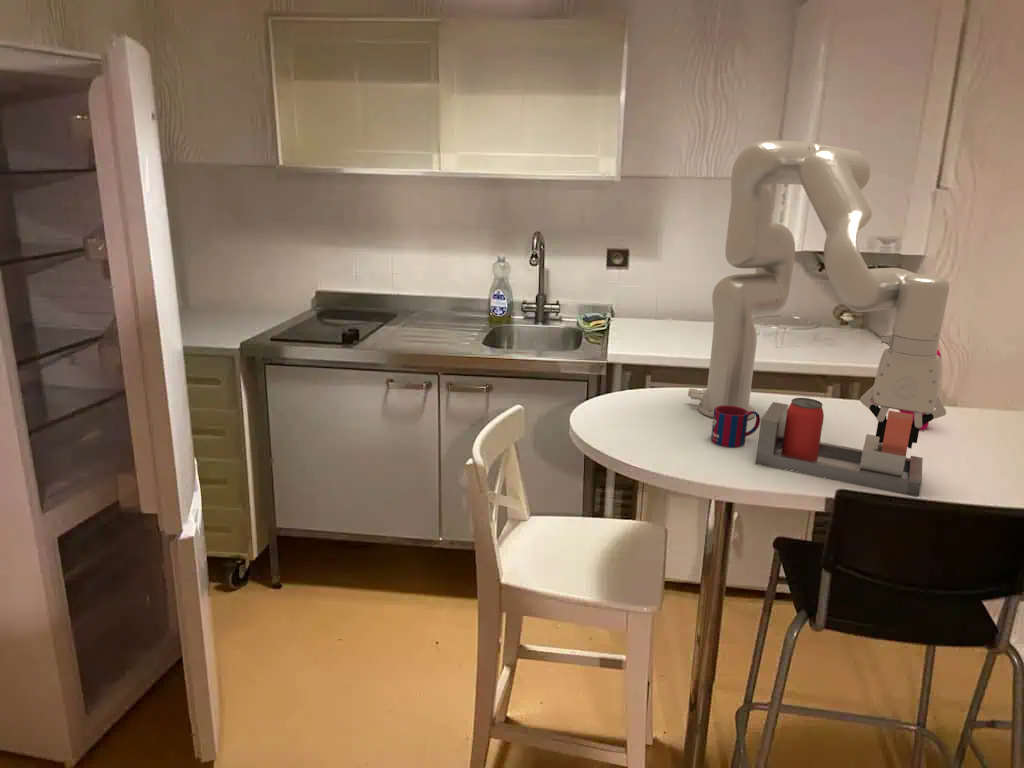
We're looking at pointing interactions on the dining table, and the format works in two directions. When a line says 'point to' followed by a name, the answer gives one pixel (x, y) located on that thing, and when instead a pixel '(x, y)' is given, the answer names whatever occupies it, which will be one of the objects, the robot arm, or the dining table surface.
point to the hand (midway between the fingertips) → (895, 442)
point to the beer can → (803, 429)
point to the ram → (888, 446)
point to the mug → (731, 426)
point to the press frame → (773, 442)
